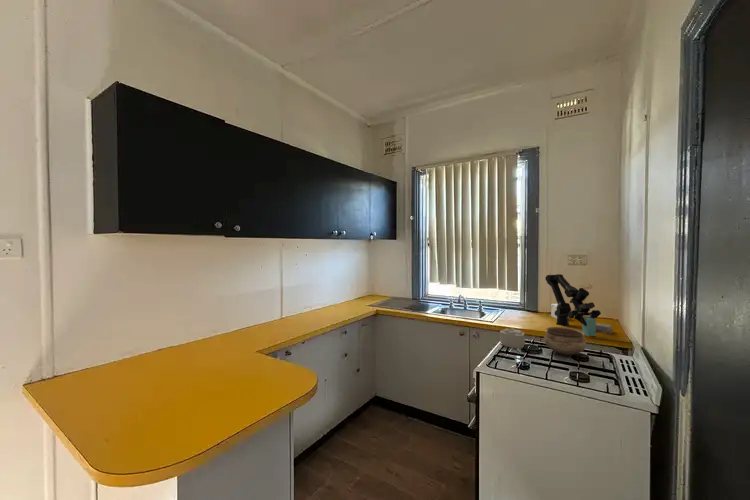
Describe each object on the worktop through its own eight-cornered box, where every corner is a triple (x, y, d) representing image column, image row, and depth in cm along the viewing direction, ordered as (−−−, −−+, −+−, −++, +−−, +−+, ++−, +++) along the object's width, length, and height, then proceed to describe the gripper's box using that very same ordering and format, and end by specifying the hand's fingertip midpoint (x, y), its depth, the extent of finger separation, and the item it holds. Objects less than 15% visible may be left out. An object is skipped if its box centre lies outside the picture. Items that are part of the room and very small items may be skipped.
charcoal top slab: (593, 328, 207) (593, 324, 207) (597, 326, 212) (597, 323, 212) (607, 331, 201) (607, 327, 201) (611, 329, 206) (611, 325, 206)
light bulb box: (567, 319, 238) (567, 306, 238) (558, 319, 238) (558, 306, 238) (559, 316, 249) (559, 303, 249) (550, 316, 249) (550, 303, 249)
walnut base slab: (590, 332, 207) (590, 328, 207) (595, 329, 213) (595, 326, 213) (608, 335, 199) (608, 331, 199) (613, 332, 206) (613, 329, 206)
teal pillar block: (582, 334, 200) (582, 317, 200) (589, 334, 200) (590, 317, 200) (587, 336, 195) (587, 319, 195) (595, 336, 195) (595, 319, 195)
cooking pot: (584, 365, 149) (585, 340, 149) (540, 356, 160) (540, 333, 160) (586, 350, 169) (587, 328, 169) (547, 344, 181) (547, 323, 180)
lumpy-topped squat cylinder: (523, 349, 173) (523, 333, 173) (498, 345, 180) (498, 330, 179) (525, 344, 182) (525, 329, 181) (501, 340, 188) (501, 326, 188)
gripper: (570, 298, 201) (582, 319, 190) (599, 297, 201) (612, 318, 191) (563, 307, 209) (573, 328, 198) (590, 307, 209) (602, 328, 199)
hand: (590, 325), depth 196 cm, fingers closed on teal pillar block, 5 cm apart
